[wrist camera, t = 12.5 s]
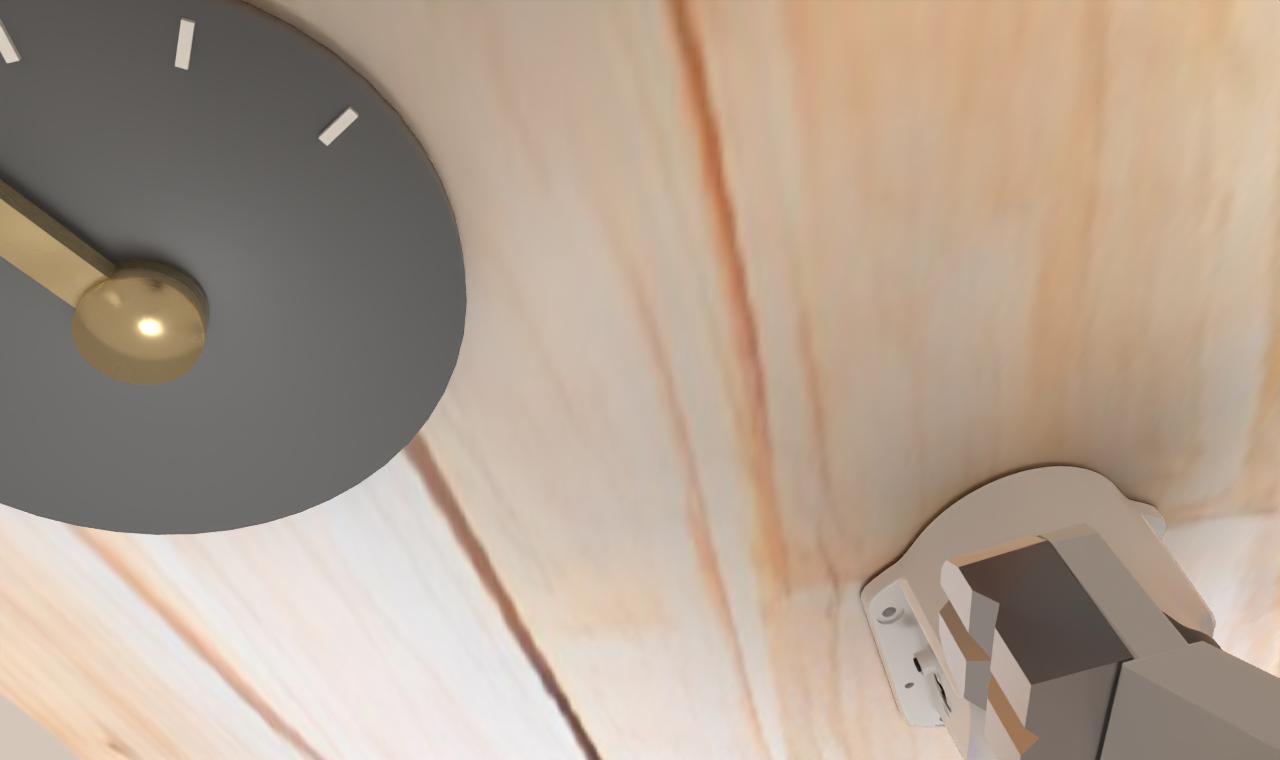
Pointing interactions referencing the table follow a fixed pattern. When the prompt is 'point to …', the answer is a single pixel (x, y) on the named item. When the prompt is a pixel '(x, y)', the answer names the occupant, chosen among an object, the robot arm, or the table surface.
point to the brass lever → (109, 297)
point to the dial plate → (218, 265)
